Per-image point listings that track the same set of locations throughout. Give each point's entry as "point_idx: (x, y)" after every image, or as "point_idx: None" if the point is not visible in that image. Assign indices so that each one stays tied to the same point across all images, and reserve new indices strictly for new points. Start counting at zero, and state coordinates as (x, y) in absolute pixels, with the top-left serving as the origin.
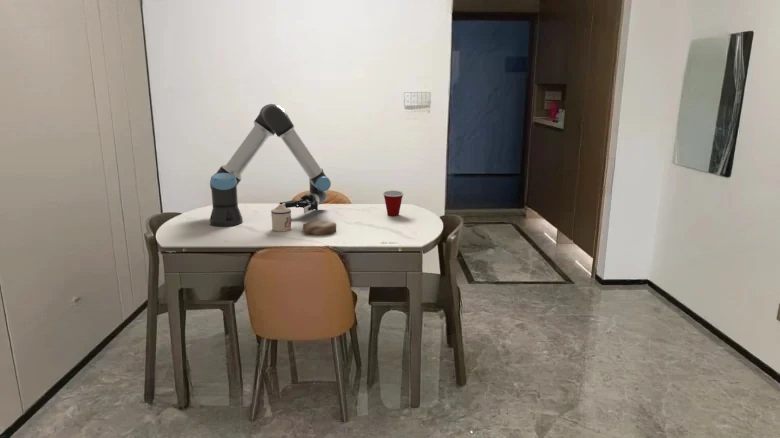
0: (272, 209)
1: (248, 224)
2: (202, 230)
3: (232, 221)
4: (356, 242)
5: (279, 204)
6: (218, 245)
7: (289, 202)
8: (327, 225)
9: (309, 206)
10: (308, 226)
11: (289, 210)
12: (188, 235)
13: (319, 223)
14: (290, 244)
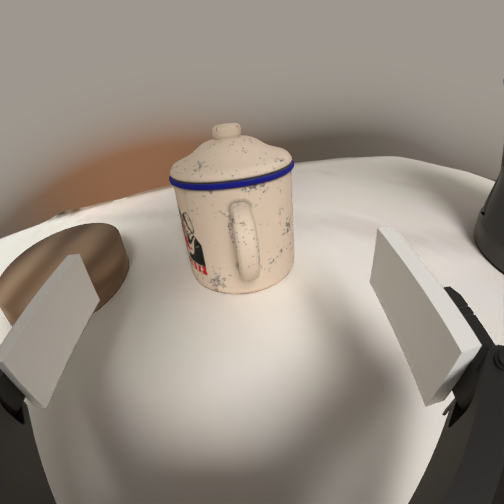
0: (281, 148)
1: (461, 268)
2: (468, 198)
3: (478, 220)
4: (14, 242)
5: (235, 123)
6: (315, 163)
7: (485, 480)
8: (29, 260)
9: (17, 336)
10: (97, 233)
11: (173, 165)
12: (440, 178)
13: (47, 271)
14: (154, 194)
